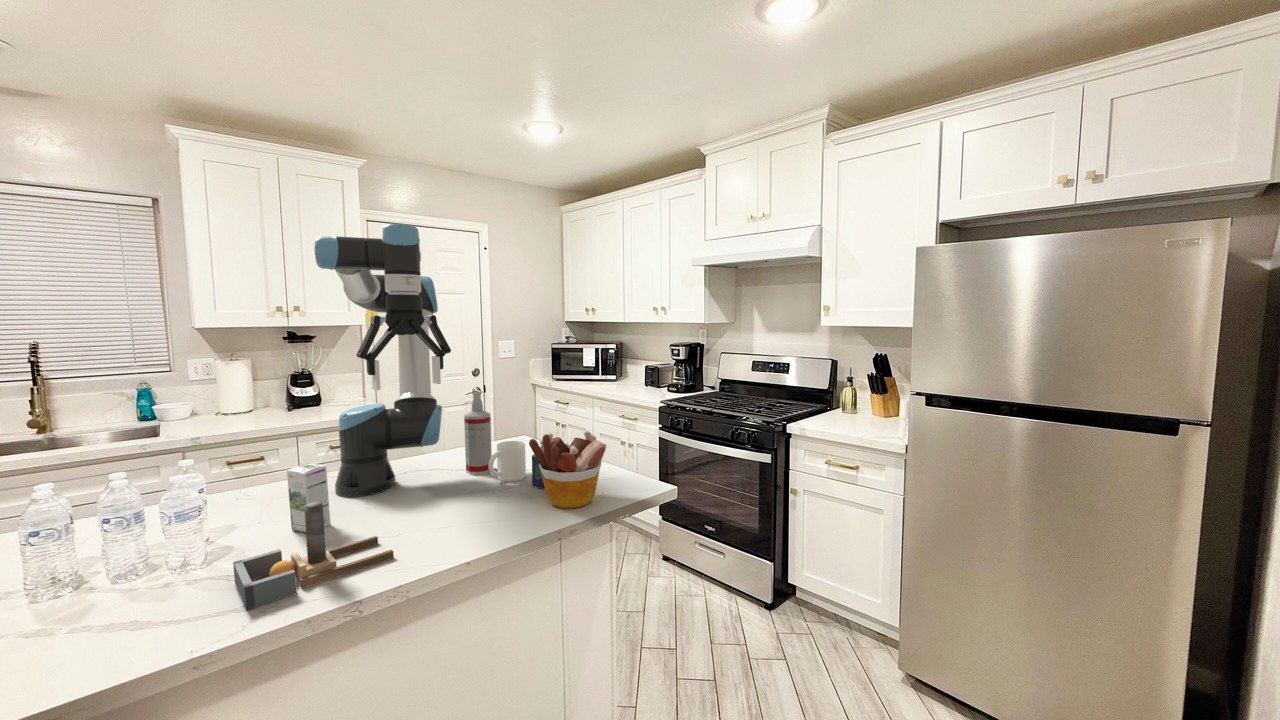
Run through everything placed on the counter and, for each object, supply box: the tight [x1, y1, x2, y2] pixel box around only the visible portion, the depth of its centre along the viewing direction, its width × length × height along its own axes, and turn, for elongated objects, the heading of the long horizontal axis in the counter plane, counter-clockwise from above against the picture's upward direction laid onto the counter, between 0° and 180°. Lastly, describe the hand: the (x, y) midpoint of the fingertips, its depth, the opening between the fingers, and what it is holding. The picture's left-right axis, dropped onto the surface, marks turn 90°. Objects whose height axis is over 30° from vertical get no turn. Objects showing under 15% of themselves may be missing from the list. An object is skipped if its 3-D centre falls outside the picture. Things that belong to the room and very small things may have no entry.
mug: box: [489, 440, 527, 483], centre depth 152 cm, size 12×8×10 cm
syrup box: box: [286, 463, 331, 534], centre depth 118 cm, size 6×6×14 cm
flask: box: [531, 453, 545, 490], centre depth 145 cm, size 9×3×11 cm, turn 61°
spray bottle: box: [463, 392, 493, 476], centre depth 159 cm, size 8×8×25 cm
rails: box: [289, 535, 395, 589], centre depth 102 cm, size 10×16×2 cm, turn 135°
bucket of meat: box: [528, 430, 607, 510], centre depth 133 cm, size 20×16×20 cm
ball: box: [268, 560, 296, 577], centre depth 94 cm, size 4×4×4 cm
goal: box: [232, 548, 297, 611], centre depth 92 cm, size 12×7×4 cm, turn 45°
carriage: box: [290, 502, 338, 582], centre depth 98 cm, size 7×6×13 cm
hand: (407, 386), depth 118 cm, fingers open, 13 cm apart
